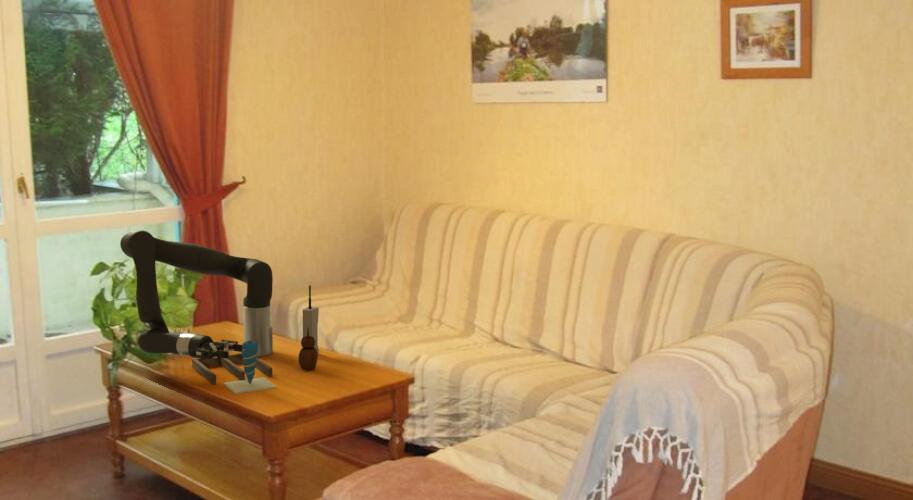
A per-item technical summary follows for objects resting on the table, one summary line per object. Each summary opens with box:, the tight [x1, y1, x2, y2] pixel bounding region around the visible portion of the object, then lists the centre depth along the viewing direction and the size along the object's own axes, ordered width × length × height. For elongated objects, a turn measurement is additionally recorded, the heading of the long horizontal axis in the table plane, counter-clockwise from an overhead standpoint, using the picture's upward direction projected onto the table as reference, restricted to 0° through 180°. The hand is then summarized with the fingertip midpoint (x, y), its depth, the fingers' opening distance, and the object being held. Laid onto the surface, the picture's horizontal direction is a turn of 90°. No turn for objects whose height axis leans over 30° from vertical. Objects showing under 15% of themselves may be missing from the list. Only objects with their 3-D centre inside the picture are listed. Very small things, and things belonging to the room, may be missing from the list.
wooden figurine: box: [298, 328, 319, 372], centre depth 327 cm, size 7×6×15 cm
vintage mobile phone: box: [302, 284, 320, 354], centre depth 345 cm, size 4×5×25 cm
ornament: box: [240, 337, 258, 384], centre depth 308 cm, size 5×5×15 cm
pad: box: [223, 377, 277, 395], centre depth 308 cm, size 13×11×1 cm
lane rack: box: [191, 352, 273, 386], centre depth 323 cm, size 20×23×3 cm
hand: (236, 351), depth 309 cm, fingers open, 8 cm apart
